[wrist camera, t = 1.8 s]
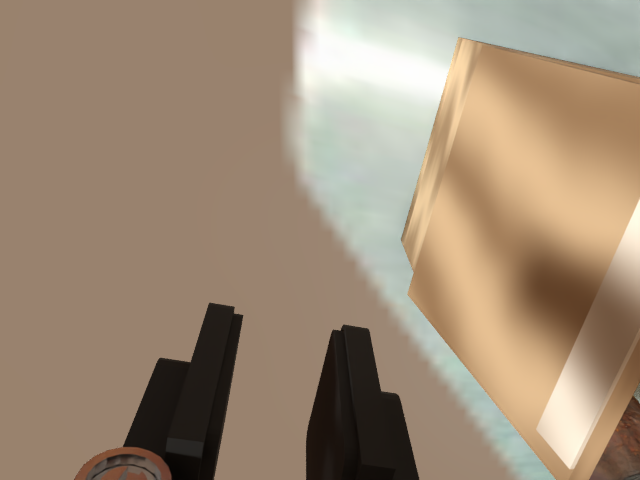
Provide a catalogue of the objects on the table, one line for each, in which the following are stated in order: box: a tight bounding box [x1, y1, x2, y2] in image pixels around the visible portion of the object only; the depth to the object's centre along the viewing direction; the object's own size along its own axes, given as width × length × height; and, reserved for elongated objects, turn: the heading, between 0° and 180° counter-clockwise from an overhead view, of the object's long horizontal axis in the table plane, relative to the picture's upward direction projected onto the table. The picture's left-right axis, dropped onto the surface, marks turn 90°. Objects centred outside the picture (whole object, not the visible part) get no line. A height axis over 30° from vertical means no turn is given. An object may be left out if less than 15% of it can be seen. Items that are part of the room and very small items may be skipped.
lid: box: [408, 45, 640, 480], centre depth 24 cm, size 14×14×1 cm
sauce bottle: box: [589, 396, 640, 480], centre depth 35 cm, size 7×6×20 cm
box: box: [401, 37, 640, 272], centre depth 35 cm, size 14×14×8 cm
